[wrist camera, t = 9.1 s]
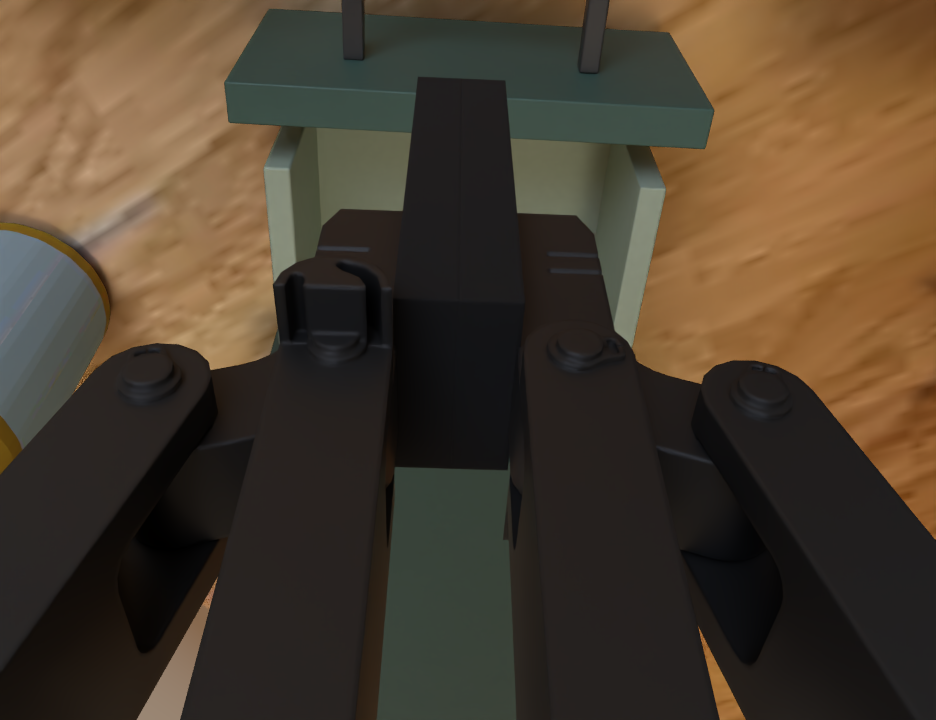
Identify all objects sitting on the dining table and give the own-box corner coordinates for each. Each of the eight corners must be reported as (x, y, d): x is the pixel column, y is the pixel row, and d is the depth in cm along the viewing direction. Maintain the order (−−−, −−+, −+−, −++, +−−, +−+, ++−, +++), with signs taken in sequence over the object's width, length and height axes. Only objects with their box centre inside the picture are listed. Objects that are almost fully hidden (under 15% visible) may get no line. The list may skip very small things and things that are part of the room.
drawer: (253, -184, 26) (197, -149, 21) (705, -153, 27) (768, -111, 21) (299, 406, 40) (272, 519, 35) (594, 418, 41) (614, 532, 35)
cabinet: (282, 310, 38) (241, 451, 31) (620, 326, 39) (654, 468, 32) (305, 585, 50) (279, 732, 43) (566, 594, 50) (582, 741, 43)
